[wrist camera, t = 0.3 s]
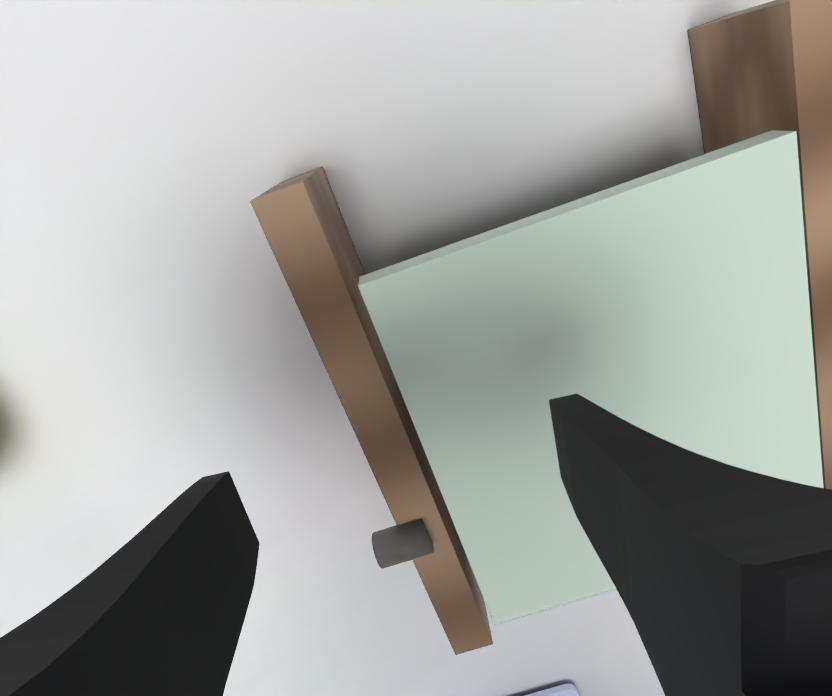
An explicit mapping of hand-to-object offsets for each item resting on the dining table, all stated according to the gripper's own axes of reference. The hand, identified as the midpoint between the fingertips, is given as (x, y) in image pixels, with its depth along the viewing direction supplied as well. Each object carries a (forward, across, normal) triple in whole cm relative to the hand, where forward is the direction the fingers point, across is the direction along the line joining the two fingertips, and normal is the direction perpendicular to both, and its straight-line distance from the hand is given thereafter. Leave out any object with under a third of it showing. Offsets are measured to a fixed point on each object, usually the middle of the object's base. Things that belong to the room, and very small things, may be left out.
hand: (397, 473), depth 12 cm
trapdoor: (+8, -6, +3) cm, 11 cm away
